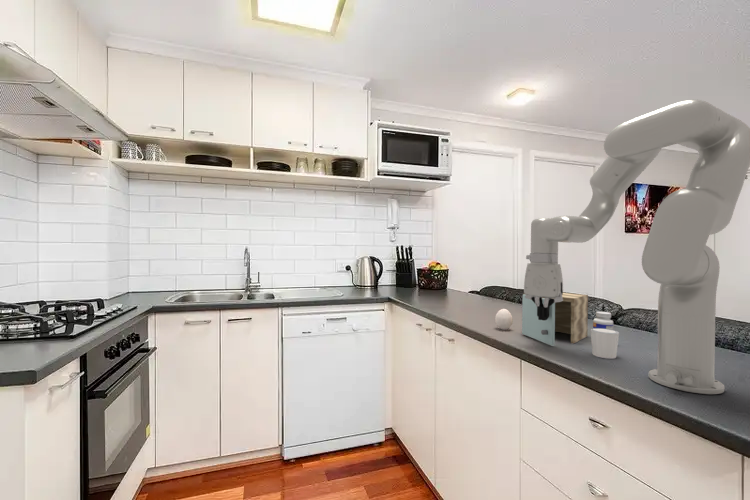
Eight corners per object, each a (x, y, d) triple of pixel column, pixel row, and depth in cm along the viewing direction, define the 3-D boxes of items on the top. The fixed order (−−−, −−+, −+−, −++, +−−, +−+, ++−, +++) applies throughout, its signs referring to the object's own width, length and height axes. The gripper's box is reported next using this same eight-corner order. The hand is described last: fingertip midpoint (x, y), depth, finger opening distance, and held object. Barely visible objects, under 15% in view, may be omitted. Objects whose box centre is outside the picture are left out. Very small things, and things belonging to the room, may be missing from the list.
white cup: (624, 357, 97) (625, 332, 97) (607, 360, 94) (608, 334, 94) (600, 350, 103) (601, 327, 103) (584, 353, 101) (584, 328, 101)
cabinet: (573, 343, 111) (574, 298, 111) (523, 334, 122) (523, 293, 122) (587, 336, 120) (587, 294, 120) (539, 328, 132) (539, 290, 132)
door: (547, 345, 106) (548, 300, 106) (518, 333, 121) (518, 294, 121) (554, 345, 107) (555, 300, 107) (524, 333, 121) (525, 294, 121)
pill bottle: (588, 341, 114) (589, 311, 114) (601, 340, 115) (601, 310, 115) (604, 346, 108) (604, 314, 108) (617, 344, 110) (617, 313, 110)
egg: (491, 329, 130) (492, 308, 130) (500, 327, 134) (500, 306, 134) (507, 332, 125) (507, 310, 125) (515, 329, 129) (516, 309, 129)
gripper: (514, 258, 110) (513, 317, 110) (566, 260, 99) (565, 325, 99) (524, 258, 115) (523, 314, 115) (575, 259, 104) (574, 321, 104)
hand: (543, 319), depth 107 cm, fingers closed
